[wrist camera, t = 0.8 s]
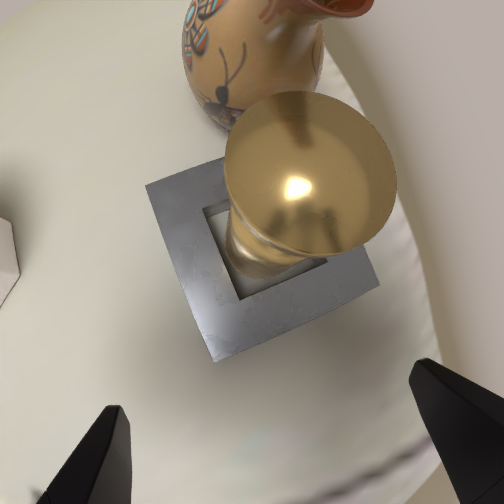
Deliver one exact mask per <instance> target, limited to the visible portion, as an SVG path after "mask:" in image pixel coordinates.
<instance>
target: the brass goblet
mask: <svg viewBox="0 0 504 504" xmlns="http://www.w3.org/2000/svg"><path fill="white" fill-rule="evenodd" d="M224 182H225V187H226V192H227V195H228V198H229V201H230V203H231V207H230V212H229V217H228V223H227V228H226V234H225V240H224V247H225V252H226V255H227V258H228V260H229V262H230V263H231V265H232V266H233V267H234V268H235V269H236V270H237V271H238V272H240V273H241V274H243V275H245V276H247V277H250V278H254V279H267V278H271V277H274V276H276V275H278V274H280V273H282V272H283V271H285V270H287V269H289V268H290V267H292V266H294V265H296V264H298V263H299V262H301V261H303V260H305V259H306V258H312V259H318V258H328V257H333V256H337V255H340V254H342V253H345V252H347V251H350V250H352V249H354V248H356V247H358V246H360V245H362V244H364V243H365V242H367V241H369V240H370V239H371V238H372V237H374V236H375V235H376V234H377V233H378V232H379V231H380V230H381V229H382V228H383V226H384V225H385V223H386V222H387V220H388V218H389V216H390V214H391V212H392V209H393V206H394V203H395V198H396V191H397V180H396V171H395V167H394V163H393V159H392V157H391V154H390V151H389V150H388V147H387V145H386V143H385V142H384V140H383V139H382V137H381V135H380V134H379V133H378V131H377V130H376V129H375V128H374V126H373V125H372V124H371V123H370V122H369V121H368V120H367V119H366V118H365V117H364V116H362V115H361V114H360V113H359V112H358V111H356V110H355V109H353V108H352V107H350V106H349V105H347V104H345V103H343V102H341V101H340V100H337V99H335V98H332V97H330V96H327V95H323V94H320V93H315V92H309V91H287V92H281V93H277V94H273V95H270V96H268V97H265V98H263V99H261V100H259V101H257V102H256V103H254V104H253V105H251V106H250V107H249V108H248V109H247V110H245V111H244V112H243V114H242V115H241V116H240V117H239V118H238V119H237V121H236V123H235V124H234V126H233V128H232V130H231V132H230V134H229V137H228V141H227V145H226V152H225V162H224Z"/></svg>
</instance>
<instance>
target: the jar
mask: <svg viewBox="0 0 504 504" xmlns="http://www.w3.org/2000/svg"><path fill="white" fill-rule="evenodd" d="M19 276H20V273H19V268H18V263H17V258H16V252H15V246H14V239H13V232H12V225H11V223H10V222H8V221H7V220H5V219H3V218H1V217H0V306H1V304H2V303H3V301H4V299H5V298H6V296H7V295H8V293H9V291H10V290H11V288H12V287H13V285H14V284H15V282H16V281H17V279H18V278H19Z"/></svg>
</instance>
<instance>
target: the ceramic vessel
mask: <svg viewBox="0 0 504 504" xmlns="http://www.w3.org/2000/svg"><path fill="white" fill-rule="evenodd" d="M373 2H374V0H192V2H191V4H190V6H189V8H188V11H187V14H186V17H185V21H184V26H183V33H182V57H183V63H184V68H185V73H186V76H187V79H188V82H189V85H190V87H191V89H192V91H193V93H194V95H195V97H196V99H197V101H198V102H199V104H200V105H201V106H202V108H203V109H204V110H205V112H206V113H207V114H208V115H209V116H210V117H211V118H212V119H213V120H214V121H216V122H217V123H218V124H220V125H221V126H223V127H224V128H226V129H228V130H230V131H231V130H232V128H233V126H234V124H235V123H236V121H237V119H238V118H239V117H240V116H241V115H242V114H243V112H244V111H245V110H247V109H248V108H249V107H250V106H251V105H253V104H254V103H256V102H257V101H259V100H261V99H263V98H265V97H268V96H270V95H273V94H277V93H281V92H287V91H309V92H314V91H315V89H316V86H317V84H318V81H319V78H320V74H321V70H322V64H323V57H324V37H323V30H322V24H321V22H323V21H326V20H337V19H350V18H355V17H358V16H361V15H363V14H365V13H366V12H368V11H369V10H370V8H371V7H372V5H373Z"/></svg>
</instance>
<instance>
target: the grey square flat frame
mask: <svg viewBox="0 0 504 504" xmlns="http://www.w3.org/2000/svg"><path fill="white" fill-rule="evenodd" d="M224 162H225V157H222V158H219V159H216V160H213V161H210V162H207V163H204V164H202V165H199V166H196V167H193V168H190V169H187V170H185V171H182V172H179V173H177V174H174V175H171V176H169V177H166V178H163V179H161V180H158V181H156V182H153V183H150V184H148V185H145V187H146V190H147V193H148V196H149V199H150V202H151V204H152V207H153V210H154V213H155V216H156V219H157V222H158V225H159V227H160V230H161V233H162V236H163V238H164V241H165V244H166V247H167V249H168V252H169V255H170V257H171V260H172V263H173V265H174V268H175V270H176V273H177V276H178V278H179V281H180V283H181V286H182V288H183V291H184V293H185V296H186V298H187V301H188V303H189V306H190V308H191V310H192V313H193V315H194V318H195V320H196V322H197V325H198V327H199V330H200V332H201V334H202V337H203V339H204V341H205V343H206V346H207V348H208V350H209V353H210V355H211V357H212V359H213V361H214V363H215V362H217V361H220V360H222V359H225V358H227V357H230V356H232V355H234V354H237V353H239V352H241V351H244V350H246V349H249V348H251V347H253V346H255V345H258V344H260V343H262V342H265V341H267V340H269V339H271V338H274V337H276V336H278V335H280V334H282V333H285V332H287V331H289V330H291V329H293V328H295V327H298V326H300V325H302V324H304V323H306V322H308V321H310V320H312V319H314V318H316V317H318V316H321V315H323V314H325V313H327V312H329V311H331V310H333V309H335V308H337V307H339V306H341V305H343V304H345V303H347V302H349V301H350V300H352V299H354V298H356V297H358V296H360V295H362V294H364V293H366V292H368V291H370V290H372V289H373V288H375V287H377V286H379V285H380V284H379V282H378V279H377V277H376V274H375V272H374V270H373V267H372V265H371V262H370V260H369V258H368V255H367V253H366V251H365V248H364V246H363V244H362V245H360V246H358V247H356V248H354V249H352V250H350V251H347V252H345V253H342V254H340V255H337V256H333V257H328V258H318V259H313V261H314V264H315V266H316V268H314V269H311V270H309V271H307V272H305V273H302V274H300V275H298V276H296V277H293V278H291V279H289V280H286V281H284V282H282V283H279V284H277V285H275V286H273V287H270V288H268V289H265V290H263V291H261V292H258V293H256V294H254V295H251V296H249V297H247V298H244V299H242V300H239V298H238V296H237V294H236V291H235V289H234V287H233V284H232V282H231V279H230V277H229V275H228V272H227V270H226V267H225V265H224V263H223V260H222V258H221V255H220V253H219V250H218V248H217V246H216V243H215V241H214V238H213V236H212V233H211V231H210V228H209V226H208V223H207V221H206V218H208V217H210V216H213V215H216V214H218V213H221V212H224V211H226V210H229V209H230V207H231V203H230V201H229V198H228V195H227V192H226V187H225V182H224Z"/></svg>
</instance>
